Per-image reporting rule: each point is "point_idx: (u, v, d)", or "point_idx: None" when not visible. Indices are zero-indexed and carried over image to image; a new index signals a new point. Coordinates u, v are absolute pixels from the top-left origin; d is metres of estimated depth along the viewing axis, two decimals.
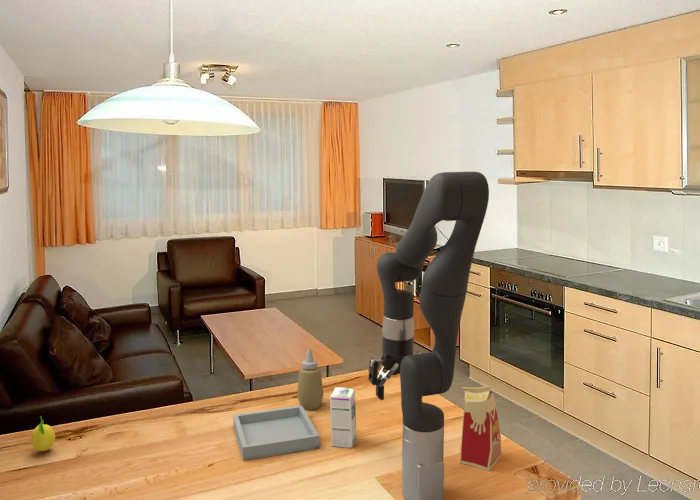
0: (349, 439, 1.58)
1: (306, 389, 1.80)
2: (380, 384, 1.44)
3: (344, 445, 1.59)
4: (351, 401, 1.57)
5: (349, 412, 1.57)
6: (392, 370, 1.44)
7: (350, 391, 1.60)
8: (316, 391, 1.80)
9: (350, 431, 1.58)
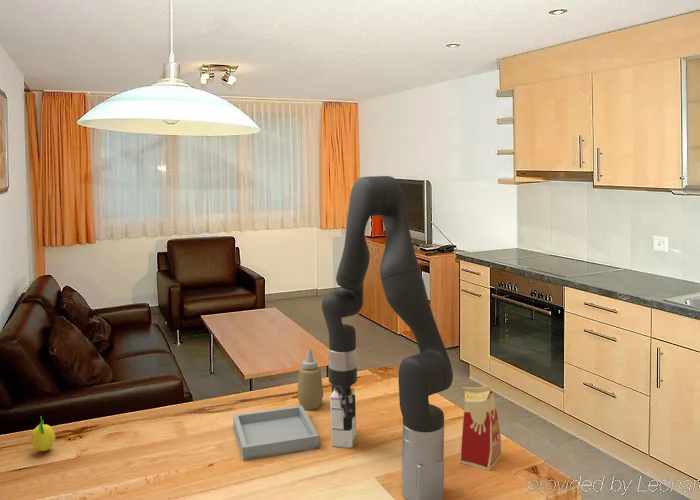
0: (349, 439, 1.58)
1: (306, 389, 1.80)
2: None
3: (344, 445, 1.59)
4: None
5: None
6: None
7: None
8: (316, 391, 1.80)
9: (350, 431, 1.58)
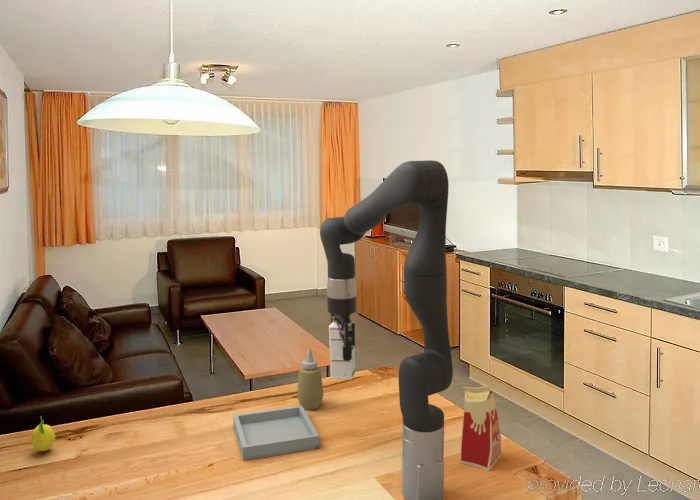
0: (349, 371, 1.55)
1: (306, 389, 1.80)
2: None
3: (343, 377, 1.56)
4: None
5: None
6: None
7: None
8: (316, 391, 1.80)
9: (350, 362, 1.55)
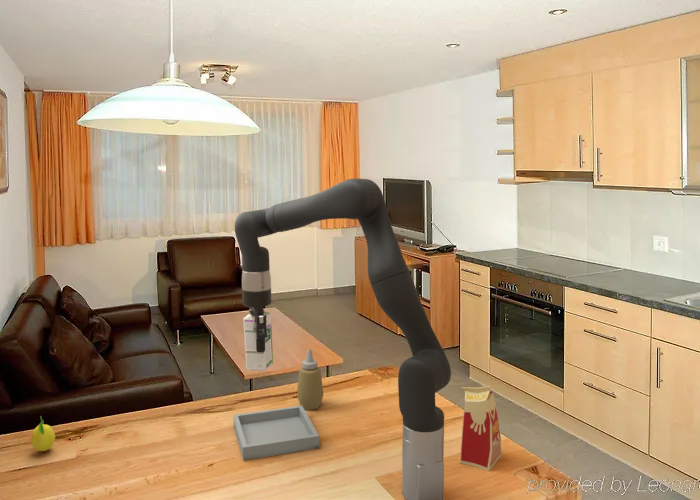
0: (263, 362, 1.57)
1: (306, 389, 1.80)
2: None
3: (258, 368, 1.58)
4: None
5: None
6: None
7: None
8: (316, 391, 1.80)
9: (264, 354, 1.57)
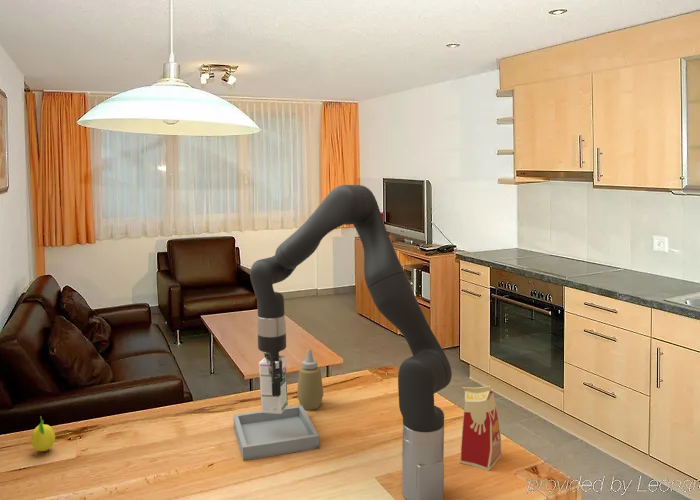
0: (278, 405, 1.60)
1: (306, 389, 1.80)
2: None
3: (274, 411, 1.61)
4: None
5: None
6: None
7: None
8: (316, 391, 1.80)
9: (279, 397, 1.60)
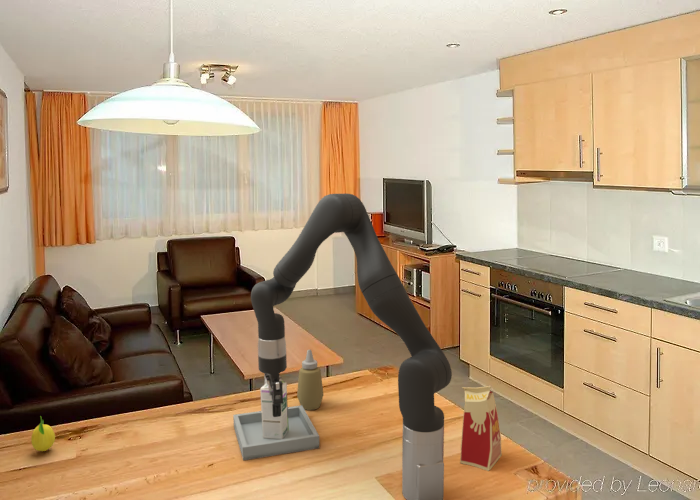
0: (280, 431, 1.62)
1: (306, 389, 1.80)
2: None
3: (275, 437, 1.62)
4: None
5: None
6: None
7: None
8: (316, 391, 1.80)
9: (280, 423, 1.61)
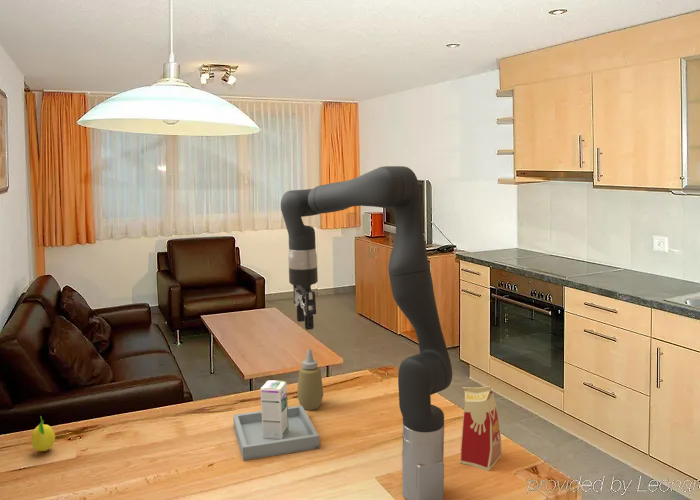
0: (280, 431, 1.62)
1: (306, 389, 1.80)
2: None
3: (275, 437, 1.62)
4: (281, 393, 1.61)
5: (279, 404, 1.60)
6: None
7: (281, 384, 1.63)
8: (316, 391, 1.80)
9: (280, 423, 1.61)
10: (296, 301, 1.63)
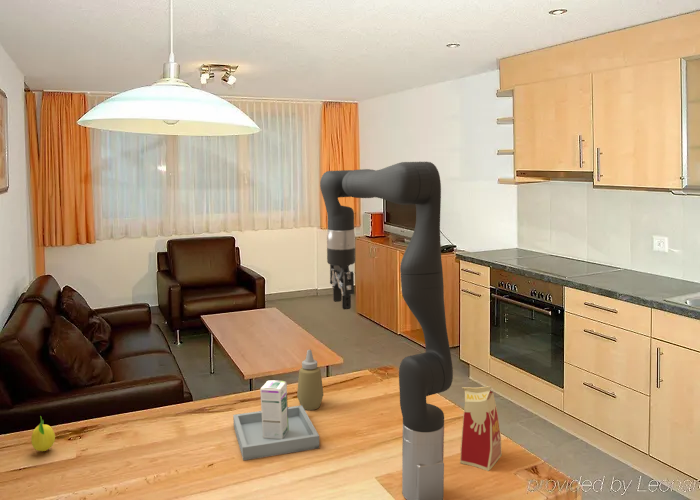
0: (280, 431, 1.62)
1: (306, 389, 1.80)
2: None
3: (275, 437, 1.62)
4: (281, 393, 1.61)
5: (279, 404, 1.60)
6: None
7: (281, 384, 1.63)
8: (316, 391, 1.80)
9: (280, 423, 1.61)
10: (333, 281, 1.64)
